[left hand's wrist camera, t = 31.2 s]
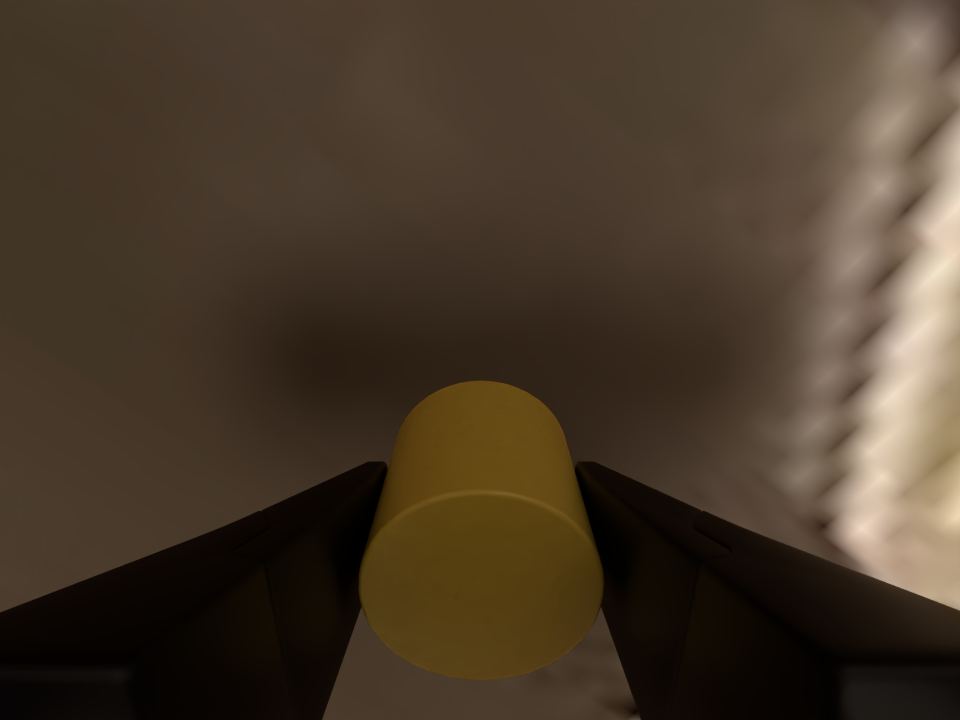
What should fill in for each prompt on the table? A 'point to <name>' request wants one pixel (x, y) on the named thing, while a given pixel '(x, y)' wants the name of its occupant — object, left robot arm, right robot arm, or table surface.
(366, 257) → the table surface
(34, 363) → the table surface
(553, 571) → the yellow short cylinder
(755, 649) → the left robot arm
